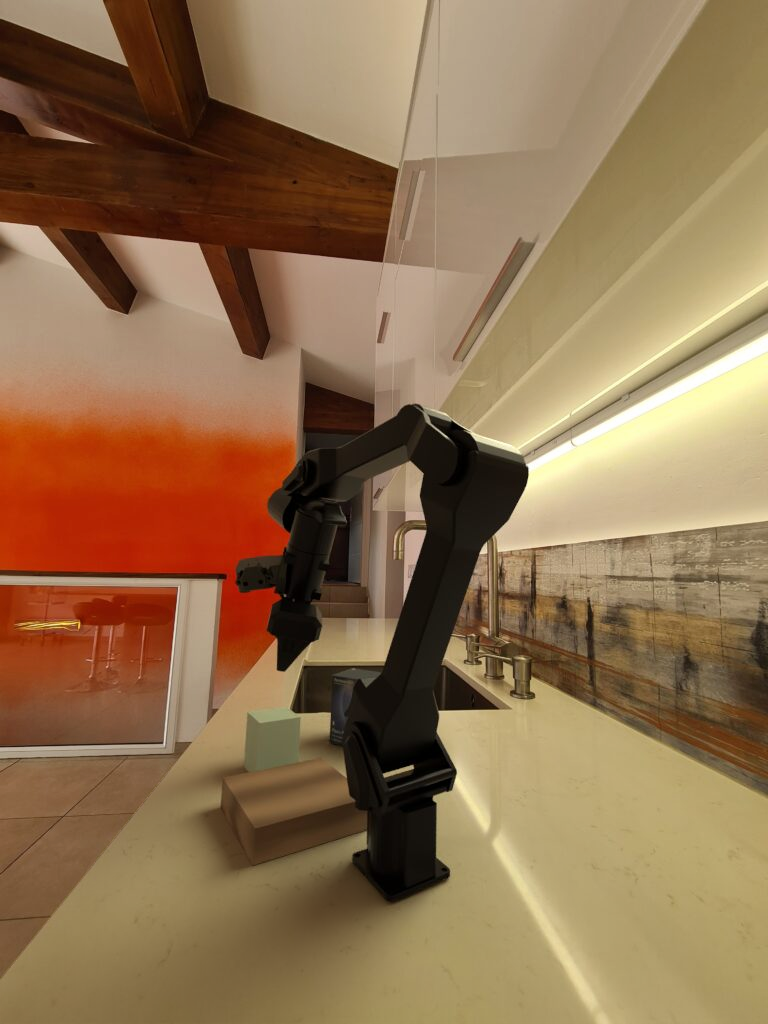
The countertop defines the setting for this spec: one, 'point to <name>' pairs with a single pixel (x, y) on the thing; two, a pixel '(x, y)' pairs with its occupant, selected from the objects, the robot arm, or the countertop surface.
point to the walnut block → (289, 808)
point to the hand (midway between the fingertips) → (282, 652)
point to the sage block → (271, 738)
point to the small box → (343, 699)
